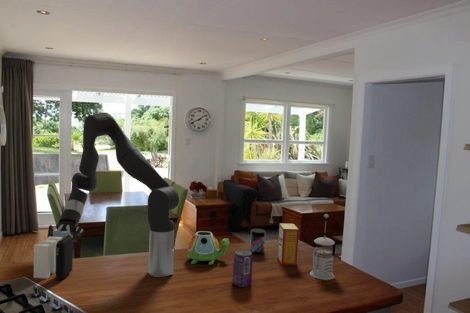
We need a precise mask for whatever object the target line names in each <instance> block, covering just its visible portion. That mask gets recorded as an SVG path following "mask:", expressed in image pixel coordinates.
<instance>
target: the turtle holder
mask: <svg viewBox="0 0 470 313" xmlns="http://www.w3.org/2000/svg"><path fill="white" fill-rule="evenodd" d="M220 244H221V248H220V245H219V242H218V239H217V238H216V236H215V235H214V234H213V233H212V232H211V231H205V230H203V231H202V230H200V231H197V232H195V234H194V235H193V236H192V237H191V238H190V241H189V243H188V246H187V256H188V258H190V259H192V260H191V262H190V264H192V265H195V264H197V263H198V262H199V261H201V262H204V261H205V262H207V261H209V262H208V265H214V264H215V262H216V260H217V259H219V258H220V257H222V256H225V254H227V253H226V252H227V250H228V247H229V246H230V239H229V238H223V239H222V240H221V241H220Z"/></svg>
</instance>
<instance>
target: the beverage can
mask: <svg viewBox="0 0 470 313" xmlns="http://www.w3.org/2000/svg"><path fill="white" fill-rule="evenodd" d="M253 260H254V257H253V254H252V252H251V251H250V250H248V249H238V250H235V252H234V254H233V262H232V264H233V265H232V278H231V279H232V284H234V285H235V286H237V287H243V288H245V287H247V286H250V285H251V284H252V283H253V282H252V280H253V262H254V261H253Z"/></svg>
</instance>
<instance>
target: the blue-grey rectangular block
mask: <svg viewBox="0 0 470 313" xmlns="http://www.w3.org/2000/svg"><path fill="white" fill-rule="evenodd" d="M67 235H68V231H57V230H55V231H54V232H53V237H62V238H64V237H65V236H67Z"/></svg>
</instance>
